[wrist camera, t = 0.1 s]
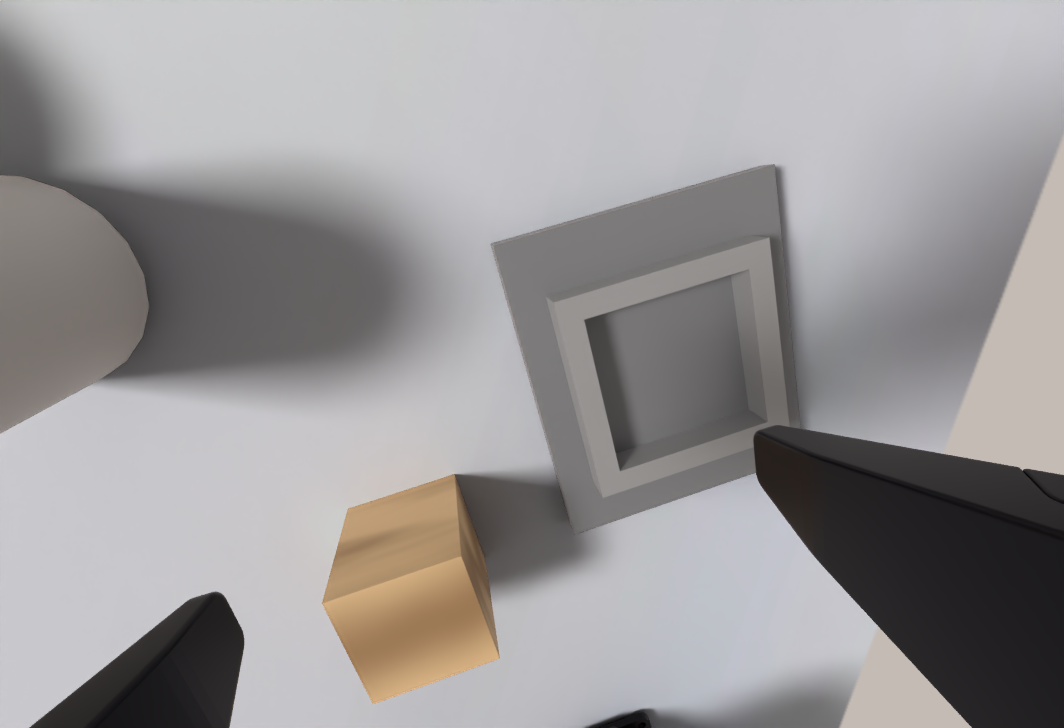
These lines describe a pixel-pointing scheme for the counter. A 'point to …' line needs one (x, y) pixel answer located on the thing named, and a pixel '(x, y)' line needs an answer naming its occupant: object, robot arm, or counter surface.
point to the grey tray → (655, 342)
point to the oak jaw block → (411, 590)
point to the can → (61, 298)
